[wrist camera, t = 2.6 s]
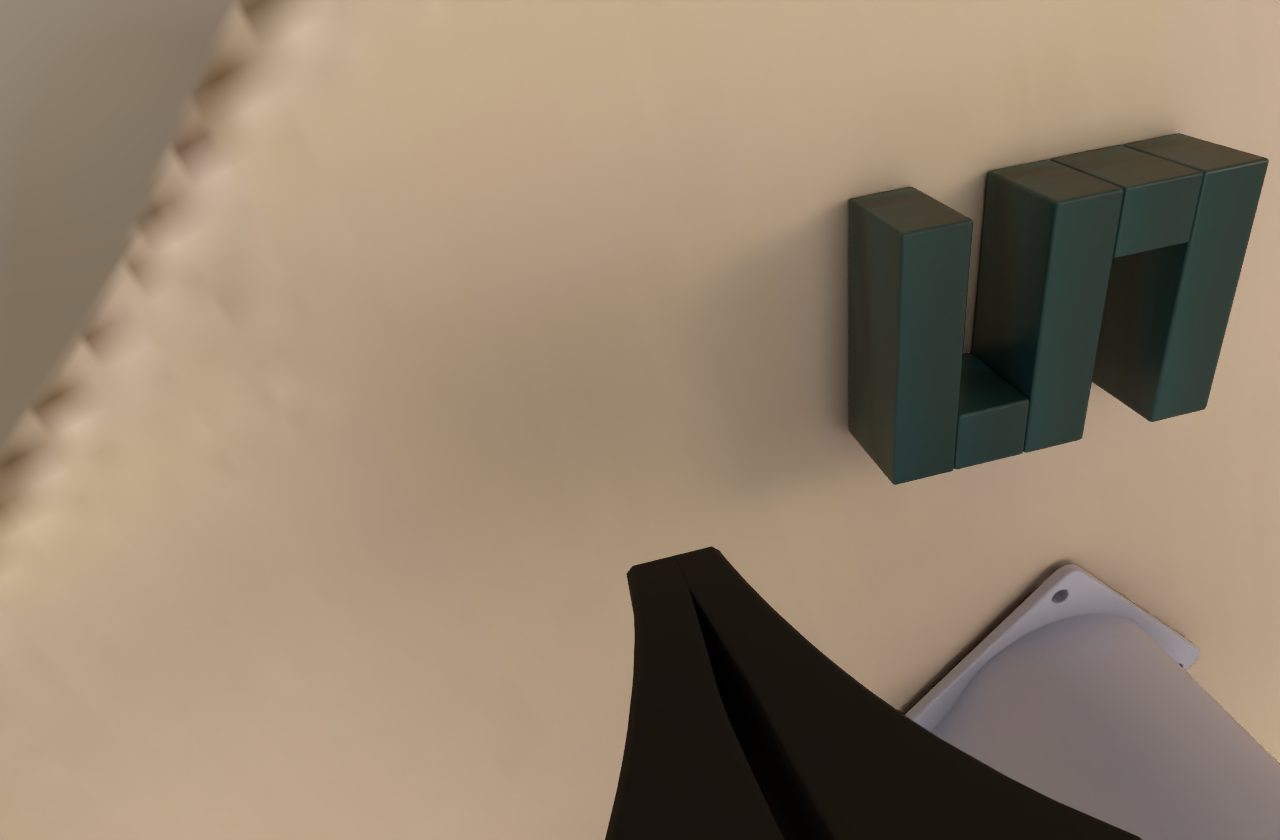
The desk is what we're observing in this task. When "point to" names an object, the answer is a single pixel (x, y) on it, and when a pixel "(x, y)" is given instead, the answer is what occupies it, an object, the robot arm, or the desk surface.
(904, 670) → the desk surface
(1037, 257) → the letter S
